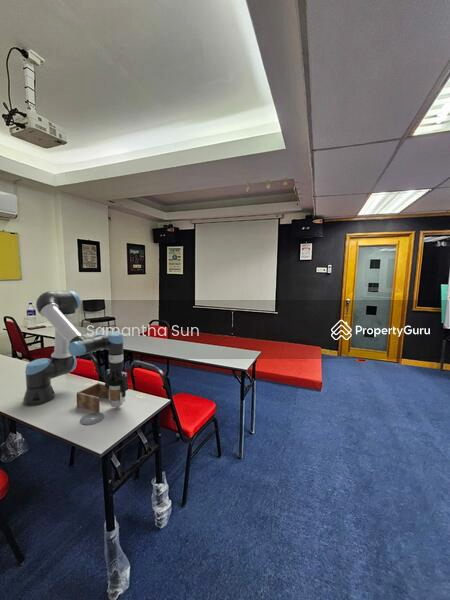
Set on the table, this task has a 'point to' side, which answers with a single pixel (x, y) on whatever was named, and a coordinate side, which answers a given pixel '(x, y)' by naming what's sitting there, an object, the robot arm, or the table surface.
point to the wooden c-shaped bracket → (92, 397)
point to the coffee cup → (115, 392)
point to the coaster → (92, 418)
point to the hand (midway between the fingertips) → (116, 400)
